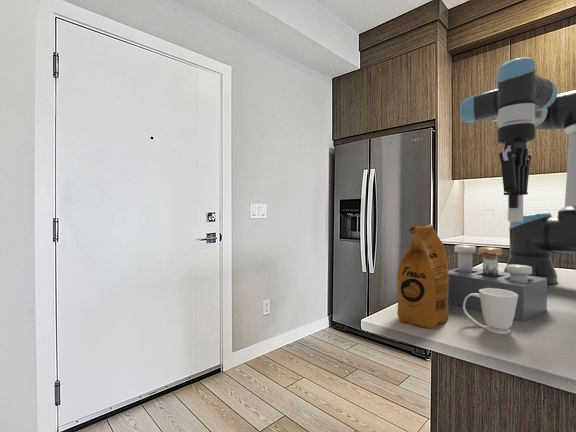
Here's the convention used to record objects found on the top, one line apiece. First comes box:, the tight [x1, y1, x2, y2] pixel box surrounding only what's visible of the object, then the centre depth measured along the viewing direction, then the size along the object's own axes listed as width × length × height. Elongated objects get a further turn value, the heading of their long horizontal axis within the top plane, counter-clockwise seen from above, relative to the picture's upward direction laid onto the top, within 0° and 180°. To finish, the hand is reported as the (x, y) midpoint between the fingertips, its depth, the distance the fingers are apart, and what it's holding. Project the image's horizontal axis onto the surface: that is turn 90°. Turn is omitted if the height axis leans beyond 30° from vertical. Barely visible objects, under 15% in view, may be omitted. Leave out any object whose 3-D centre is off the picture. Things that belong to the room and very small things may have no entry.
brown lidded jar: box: [478, 247, 503, 278], centre depth 85 cm, size 5×5×8 cm
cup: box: [462, 288, 518, 335], centre depth 69 cm, size 7×10×8 cm
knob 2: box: [505, 264, 532, 283], centre depth 79 cm, size 5×5×8 cm
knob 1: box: [454, 244, 477, 274], centre depth 90 cm, size 5×5×8 cm
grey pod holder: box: [448, 267, 548, 322], centre depth 85 cm, size 14×20×8 cm
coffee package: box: [396, 223, 450, 330], centre depth 75 cm, size 10×12×22 cm
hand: (515, 221), depth 80 cm, fingers closed
